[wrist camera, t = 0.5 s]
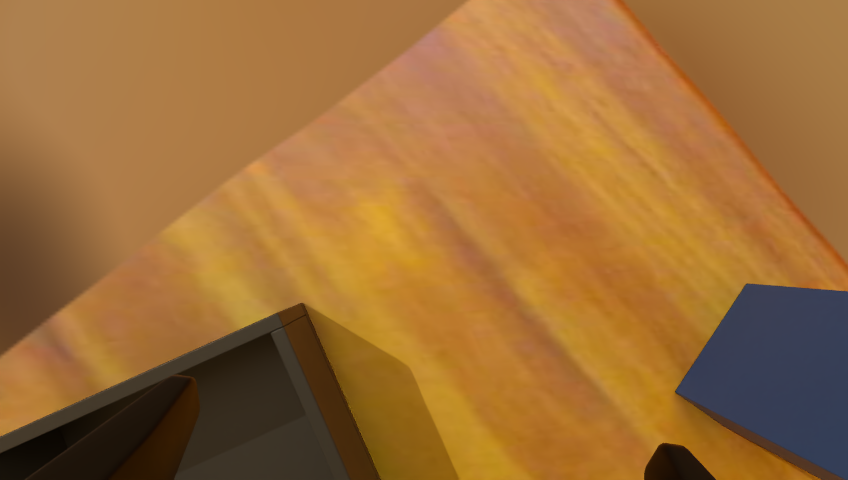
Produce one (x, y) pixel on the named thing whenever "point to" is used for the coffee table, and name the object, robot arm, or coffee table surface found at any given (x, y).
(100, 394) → the dark open-top box
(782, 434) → the blue block
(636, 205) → the coffee table surface
